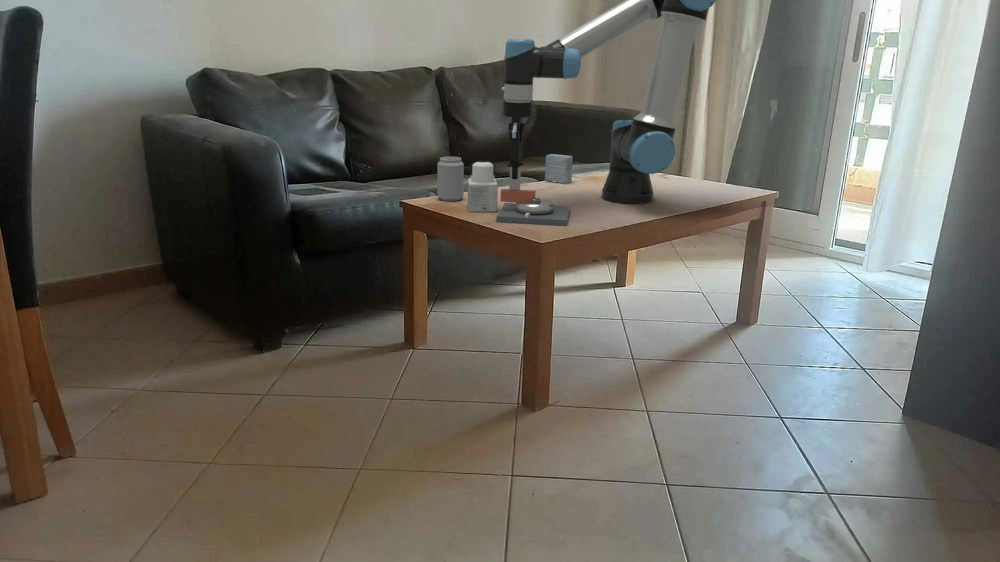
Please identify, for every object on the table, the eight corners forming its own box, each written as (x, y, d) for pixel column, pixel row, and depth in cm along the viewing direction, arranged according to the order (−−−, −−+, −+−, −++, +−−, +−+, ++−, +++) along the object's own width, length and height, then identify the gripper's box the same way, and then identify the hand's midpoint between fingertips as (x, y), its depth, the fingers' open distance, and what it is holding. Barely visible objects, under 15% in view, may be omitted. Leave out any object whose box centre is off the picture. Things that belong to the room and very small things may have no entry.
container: (467, 205, 202) (467, 159, 198) (495, 205, 203) (496, 159, 198) (468, 211, 195) (469, 163, 191) (497, 212, 195) (498, 164, 191)
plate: (569, 211, 198) (570, 203, 197) (566, 225, 183) (567, 217, 182) (504, 208, 200) (504, 199, 199) (496, 221, 185) (496, 213, 184)
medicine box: (571, 182, 238) (573, 156, 235) (565, 184, 234) (567, 157, 231) (550, 179, 241) (551, 153, 239) (544, 181, 238) (545, 155, 235)
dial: (554, 206, 195) (555, 188, 193) (552, 215, 185) (552, 196, 184) (503, 204, 196) (503, 185, 195) (498, 212, 187) (498, 193, 185)
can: (459, 202, 205) (460, 160, 201) (434, 200, 207) (434, 159, 203) (466, 197, 212) (466, 156, 208) (441, 195, 214) (441, 155, 210)
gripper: (506, 98, 195) (504, 184, 202) (500, 102, 183) (497, 194, 190) (534, 99, 194) (530, 186, 201) (529, 103, 182) (525, 195, 189)
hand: (514, 190), depth 196 cm, fingers closed
